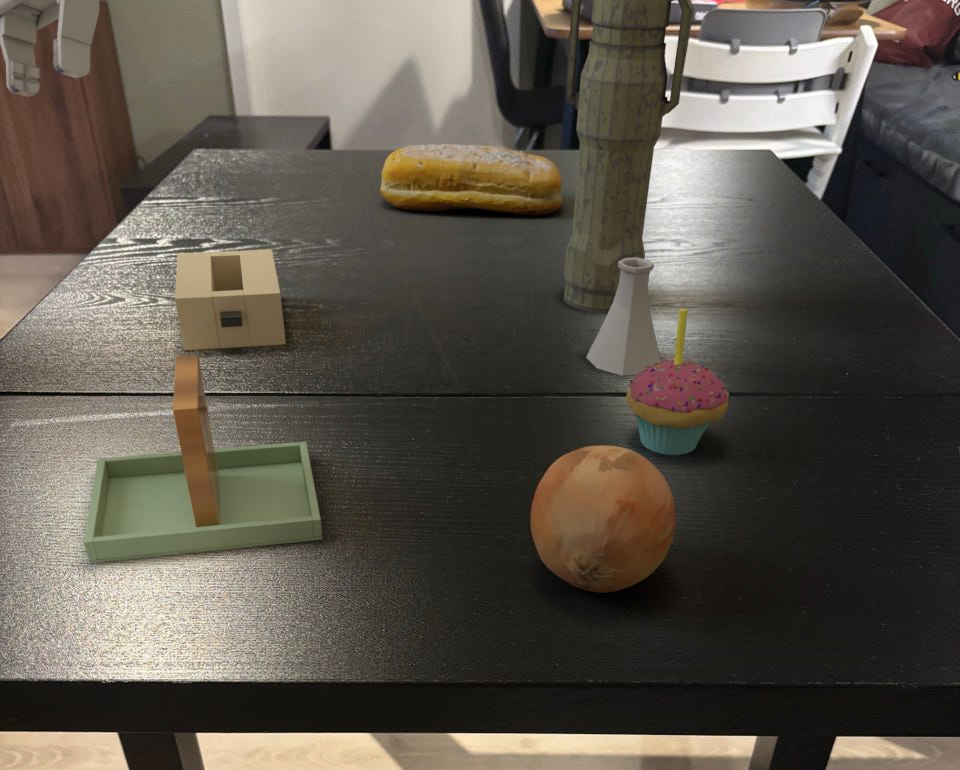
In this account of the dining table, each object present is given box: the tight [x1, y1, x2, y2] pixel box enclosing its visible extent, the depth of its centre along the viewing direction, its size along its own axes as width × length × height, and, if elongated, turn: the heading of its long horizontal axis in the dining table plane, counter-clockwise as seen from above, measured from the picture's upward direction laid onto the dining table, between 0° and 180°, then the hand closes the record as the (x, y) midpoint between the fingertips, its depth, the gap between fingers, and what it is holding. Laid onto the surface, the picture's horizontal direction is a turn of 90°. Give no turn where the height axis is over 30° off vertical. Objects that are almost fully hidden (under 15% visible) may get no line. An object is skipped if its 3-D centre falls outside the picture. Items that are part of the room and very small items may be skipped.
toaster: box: [174, 249, 287, 352], centre depth 97 cm, size 16×10×6 cm, turn 13°
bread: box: [379, 143, 563, 217], centre depth 136 cm, size 13×26×8 cm, turn 91°
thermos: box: [562, 0, 695, 314], centre depth 98 cm, size 9×12×35 cm
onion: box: [529, 445, 677, 594], centre depth 63 cm, size 10×10×10 cm
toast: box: [172, 354, 220, 527], centre depth 68 cm, size 9×2×10 cm, turn 13°
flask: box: [585, 257, 662, 377], centre depth 92 cm, size 7×7×10 cm
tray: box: [83, 441, 324, 564], centre depth 71 cm, size 16×12×2 cm
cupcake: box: [625, 298, 730, 456], centre depth 78 cm, size 9×8×12 cm
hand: (46, 84), depth 63 cm, fingers open, 8 cm apart
